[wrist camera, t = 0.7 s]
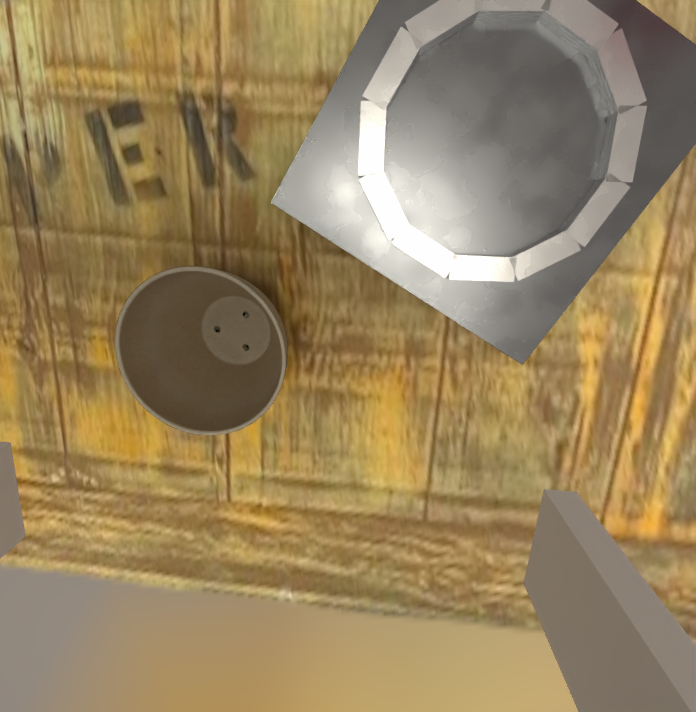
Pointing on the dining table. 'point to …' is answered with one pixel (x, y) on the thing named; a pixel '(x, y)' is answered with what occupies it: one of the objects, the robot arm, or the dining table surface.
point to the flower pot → (201, 349)
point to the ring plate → (496, 151)
